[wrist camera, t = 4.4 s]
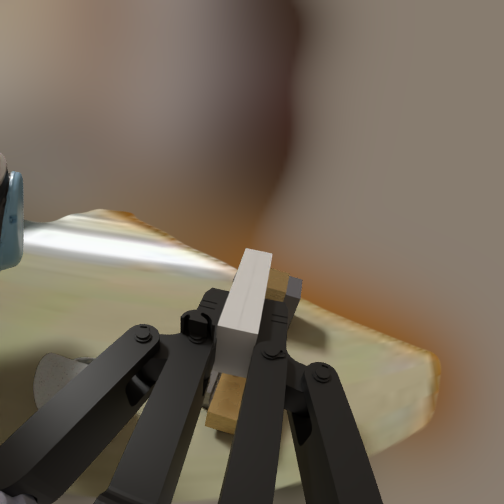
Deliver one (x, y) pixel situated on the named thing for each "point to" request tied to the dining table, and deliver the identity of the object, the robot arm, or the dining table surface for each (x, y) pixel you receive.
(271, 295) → the t-shaped wooden piece
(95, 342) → the dining table surface
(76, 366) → the ceramic mug
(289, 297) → the slotted grey block
